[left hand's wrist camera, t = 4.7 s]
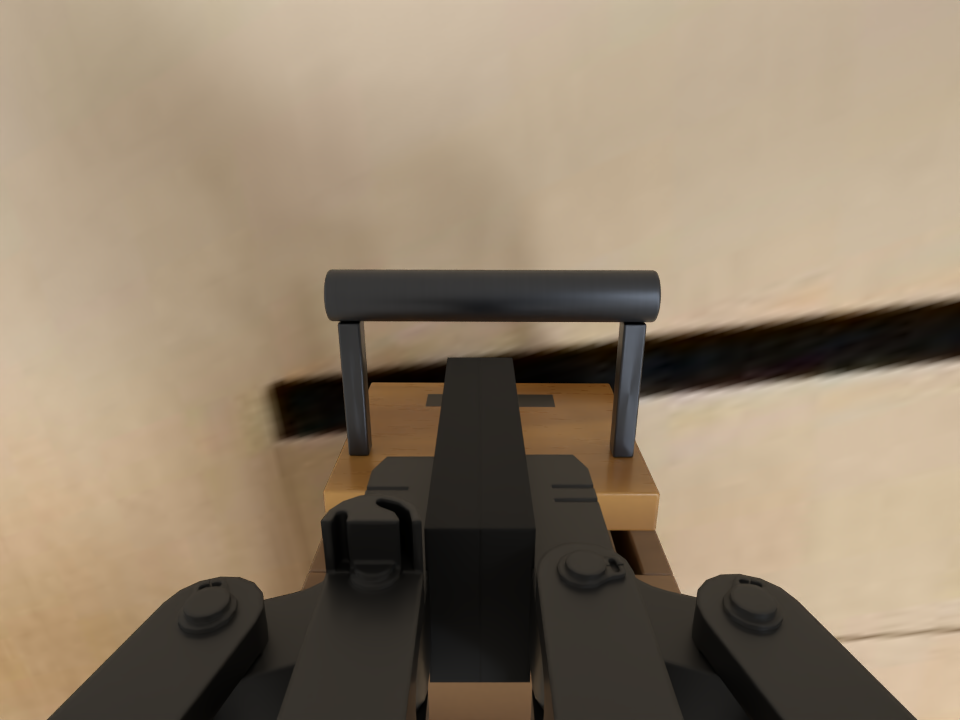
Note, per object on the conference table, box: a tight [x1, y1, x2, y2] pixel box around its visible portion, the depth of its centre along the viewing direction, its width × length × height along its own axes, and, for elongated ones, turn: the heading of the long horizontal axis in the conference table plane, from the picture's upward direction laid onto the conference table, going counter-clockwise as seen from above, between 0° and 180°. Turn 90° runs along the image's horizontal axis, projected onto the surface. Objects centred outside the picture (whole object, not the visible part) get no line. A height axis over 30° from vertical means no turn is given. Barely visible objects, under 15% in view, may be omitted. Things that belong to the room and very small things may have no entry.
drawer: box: [323, 270, 661, 552], centre depth 23 cm, size 26×9×7 cm, turn 0°
